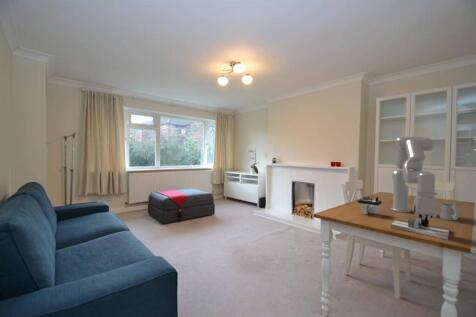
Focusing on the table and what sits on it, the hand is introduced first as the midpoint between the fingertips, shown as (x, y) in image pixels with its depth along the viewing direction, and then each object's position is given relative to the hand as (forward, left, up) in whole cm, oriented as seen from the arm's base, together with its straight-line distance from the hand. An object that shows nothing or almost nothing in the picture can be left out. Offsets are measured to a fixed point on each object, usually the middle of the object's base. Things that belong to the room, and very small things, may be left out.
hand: (424, 226), depth 129 cm
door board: (-2, -3, -3) cm, 5 cm away
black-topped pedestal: (-18, -33, -4) cm, 38 cm away
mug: (-40, +9, -3) cm, 42 cm away
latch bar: (-1, -3, -1) cm, 4 cm away
